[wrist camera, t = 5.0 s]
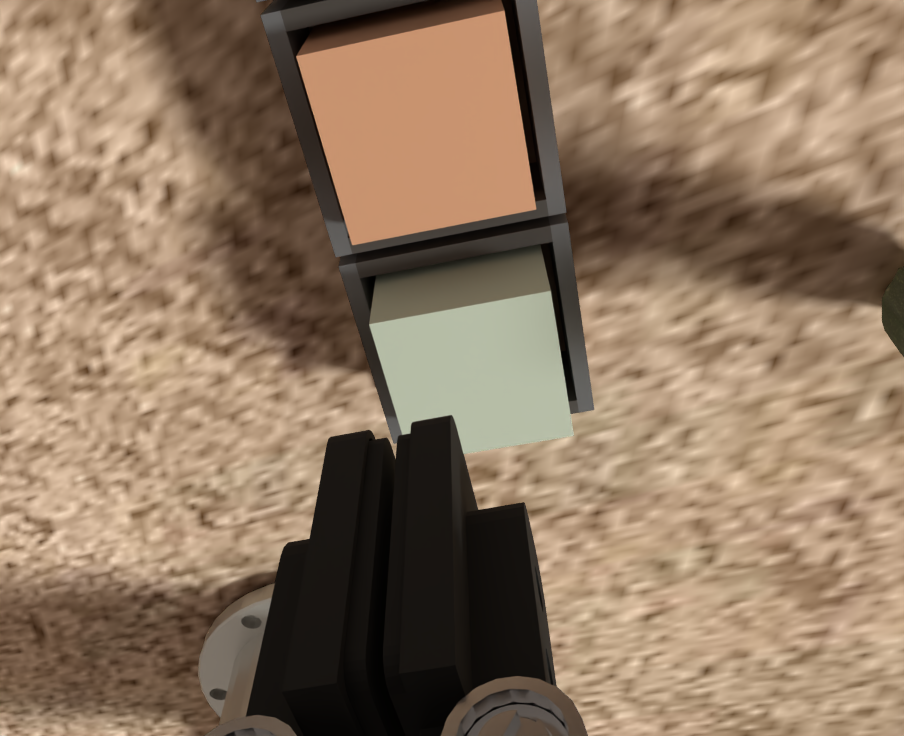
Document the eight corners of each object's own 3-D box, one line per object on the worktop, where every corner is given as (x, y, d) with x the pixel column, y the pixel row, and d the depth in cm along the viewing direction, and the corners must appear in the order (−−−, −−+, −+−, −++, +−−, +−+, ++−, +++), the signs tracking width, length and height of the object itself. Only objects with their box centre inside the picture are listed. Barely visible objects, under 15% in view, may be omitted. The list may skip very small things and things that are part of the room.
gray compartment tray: (581, 359, 31) (597, 425, 28) (401, 391, 32) (396, 459, 29) (448, -558, 18) (449, -640, 15) (150, -471, 19) (88, -531, 16)
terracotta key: (524, 157, 26) (536, 209, 22) (363, 189, 26) (352, 245, 23) (495, -19, 23) (504, 10, 20) (317, 21, 23) (296, 56, 20)
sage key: (558, 362, 29) (573, 435, 25) (414, 388, 29) (411, 462, 26) (536, 228, 26) (550, 291, 23) (378, 259, 26) (368, 324, 23)
